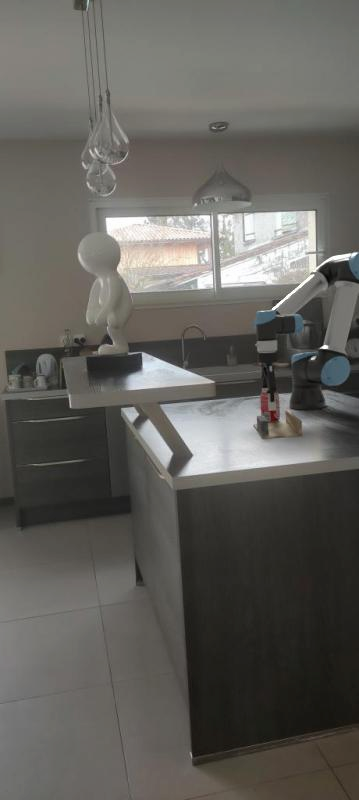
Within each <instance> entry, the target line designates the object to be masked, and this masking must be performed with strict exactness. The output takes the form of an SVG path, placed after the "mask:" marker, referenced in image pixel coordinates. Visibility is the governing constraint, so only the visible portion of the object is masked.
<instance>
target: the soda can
mask: <svg viewBox="0 0 359 800" xmlns="http://www.w3.org/2000/svg"><path fill="white" fill-rule="evenodd" d="M267 391H268V390H263V391H262V390H261V394H260V414H261V415H260V416H264V417H265V418H266V419H267V420H268V423H275V422H279V421H280V420H281V419H280V418H281V414H280V396H279V393H278V391H276V410H273V411H269V410H268V393H267Z"/></svg>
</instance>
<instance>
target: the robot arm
mask: <svg viewBox="0 0 359 800" xmlns="http://www.w3.org/2000/svg"><path fill="white" fill-rule="evenodd" d="M332 286H335V287H336V292H335V294H334V295H335V296H334V299H333V303H332V307H331V312H330V316H329V321H328V324H327V328H326V332H325V336H324V340H323V345H322V346H321V347H319V348H318V349H317V351H309V352H302V353H296V354H293V355H292V356H291V377H292V378H291V379H292V380H291V381H292V391H291V395H290V399H289V405H288V406H289V408H290V409H293V410H299V411H300V410H301V411H302V410H303V411H306V410H318V409H322V408H325V407H326V402H327V401H326V398H325V395H324V393H323V391H322V385H325V386H329V387H330V386H339V385H341V384H343V383H344V382H346V380H347V379H348V378H349V375H350V372H351V365H350V361H349V360H348V353H347V352H346V346H347V342H348V341H347V340H348V337H349V333H350V330H351V325H352V320H353V316H354V313H355V309H356V304H357V300H358V296H359V251H354V252H351V253H345V254H344V253H343V254H337V255H333V256H331V257H328V258H327V259H325V261H323V262H321V263H320V264H319V265H318V266H316V267H315V268H314V269H313V270H312V271H311V272H310V273H309V276H308V278H306V279H305V280H304V281H302V283H300V284H299V285H298V286H297V287H296V288H294V290H292V291H291V292H290V293H288V295H286V296H285V297H284V298H283V299H282V300H281V301H279V302H278V303H277V304H276V305H275V306H273V307H272V309H270V310H258V311H256V314H255V319H254V321H253V329H254V330H255V334H256V343H255V347H256V350H257V354H256V357H257V358H256V359H257V363H259V364H261V375H260V376H261V379H260V385H261V392H262V391H263V390H268V391H267V393H268V410H269V411H273V410H276V391H277V383H276V375H275V366H274V365H273V363H277V362H278V352H277V351H278V336H279V335H280V336H283V335H284V336H285V335H294V334H300V333H301V332H302V331H303V329H304V326H305V324H304V319H303V316H302V315H301V314H299V313H297V312H298V311H299V310H300V309H302V308H303V307H304V306H305V305H306V304H308V303H309V302H310V301H311V300H312V299H314V297H316V295H318V294H319V293H320V292H321V291H322V292H324V291H326V290H328V289H329V288H330V287H332ZM277 392H278V391H277Z"/></svg>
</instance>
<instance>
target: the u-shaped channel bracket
mask: <svg viewBox="0 0 359 800" xmlns="http://www.w3.org/2000/svg"><path fill="white" fill-rule="evenodd" d="M284 412H285V413H284V414H285V421H277V422H275V423H268V420H267V419H266V418H265V417H264V416H261V415H256V423H253V427H254V429H255V430H256V431H257V433H258V435H260V437H261V439H262V440H264V439H265V440H266V439H276V438H277V439H278V438H279V439H280V438H289V437H290V438H292V437H302V436H303V421H302V420H301V419H299V417H297V415H295V414H294V413H293V412H292V411H291V410H289V409H285V410H284Z"/></svg>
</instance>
